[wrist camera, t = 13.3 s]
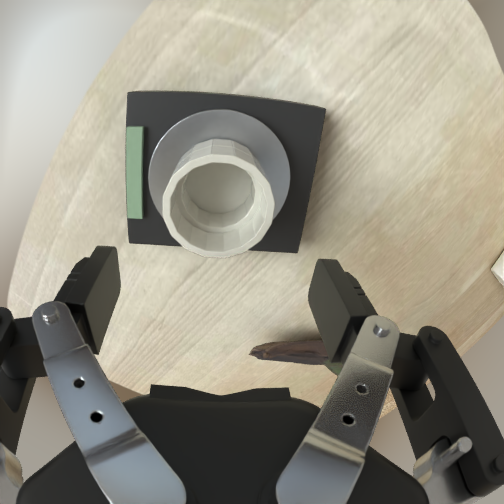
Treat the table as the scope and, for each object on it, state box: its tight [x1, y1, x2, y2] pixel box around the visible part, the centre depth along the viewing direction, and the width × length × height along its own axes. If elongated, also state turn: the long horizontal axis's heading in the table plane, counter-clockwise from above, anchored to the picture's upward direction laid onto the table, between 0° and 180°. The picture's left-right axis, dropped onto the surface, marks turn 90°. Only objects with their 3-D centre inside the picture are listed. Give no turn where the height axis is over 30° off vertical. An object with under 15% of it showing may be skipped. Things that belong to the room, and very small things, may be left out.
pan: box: [148, 109, 290, 219], centre depth 22 cm, size 10×10×1 cm
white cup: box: [163, 139, 275, 258], centre depth 19 cm, size 6×6×5 cm
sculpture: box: [249, 340, 343, 376], centre depth 35 cm, size 5×29×5 cm, turn 64°
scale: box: [126, 91, 326, 253], centre depth 23 cm, size 14×12×3 cm
